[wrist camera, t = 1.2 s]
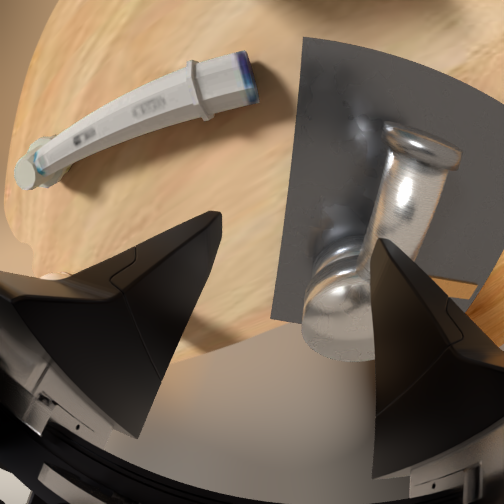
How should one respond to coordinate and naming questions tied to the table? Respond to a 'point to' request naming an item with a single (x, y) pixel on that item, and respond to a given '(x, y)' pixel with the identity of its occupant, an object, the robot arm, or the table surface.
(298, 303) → the cutting board
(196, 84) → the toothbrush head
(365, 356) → the dryer elbow
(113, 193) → the table surface
